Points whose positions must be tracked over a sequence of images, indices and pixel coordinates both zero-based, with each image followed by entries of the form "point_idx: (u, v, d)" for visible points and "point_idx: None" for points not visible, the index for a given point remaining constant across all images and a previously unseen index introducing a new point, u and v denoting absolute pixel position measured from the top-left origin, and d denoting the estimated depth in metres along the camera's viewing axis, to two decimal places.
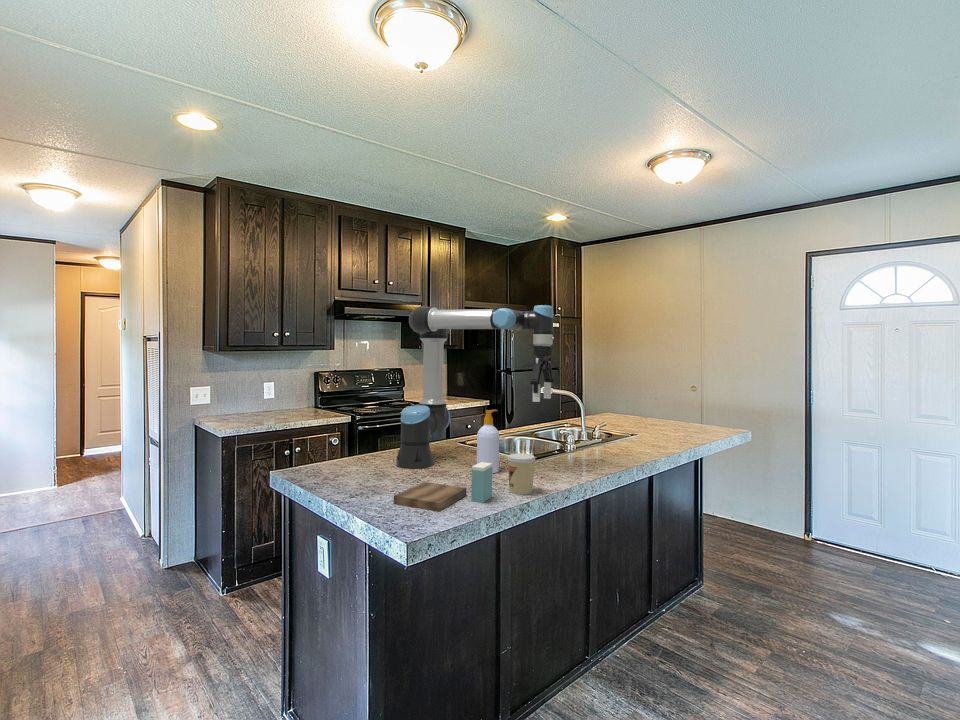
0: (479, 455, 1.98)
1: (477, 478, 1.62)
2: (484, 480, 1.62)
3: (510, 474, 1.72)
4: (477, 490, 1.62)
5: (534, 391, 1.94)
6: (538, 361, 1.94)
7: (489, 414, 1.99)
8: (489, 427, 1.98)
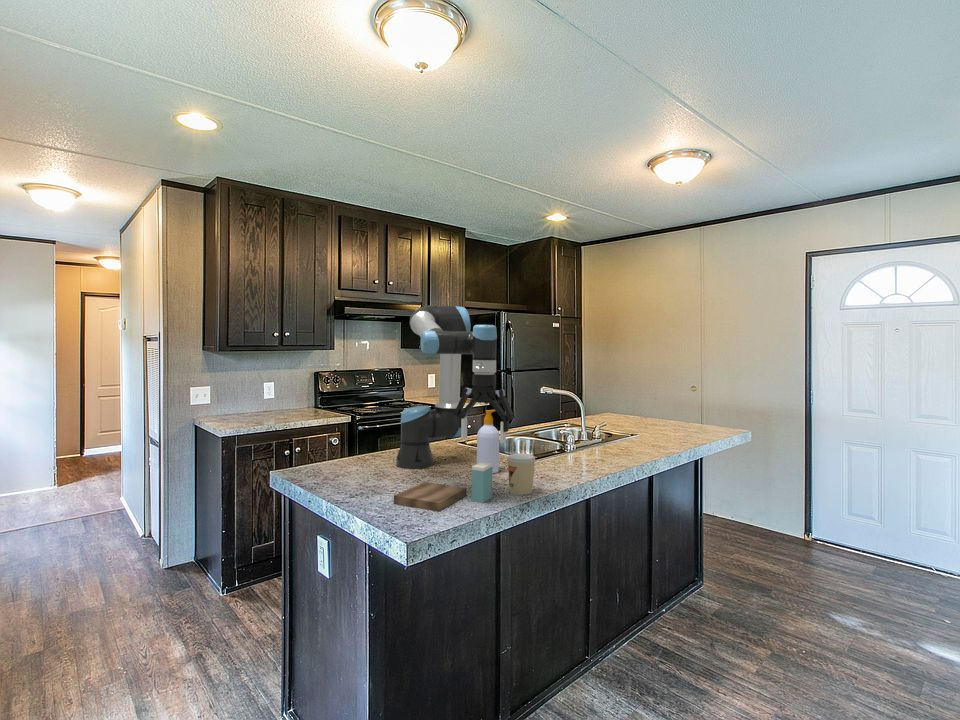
0: (479, 455, 1.98)
1: (477, 478, 1.62)
2: (484, 480, 1.62)
3: (510, 474, 1.72)
4: (477, 490, 1.62)
5: None
6: None
7: (489, 414, 1.99)
8: (489, 427, 1.98)
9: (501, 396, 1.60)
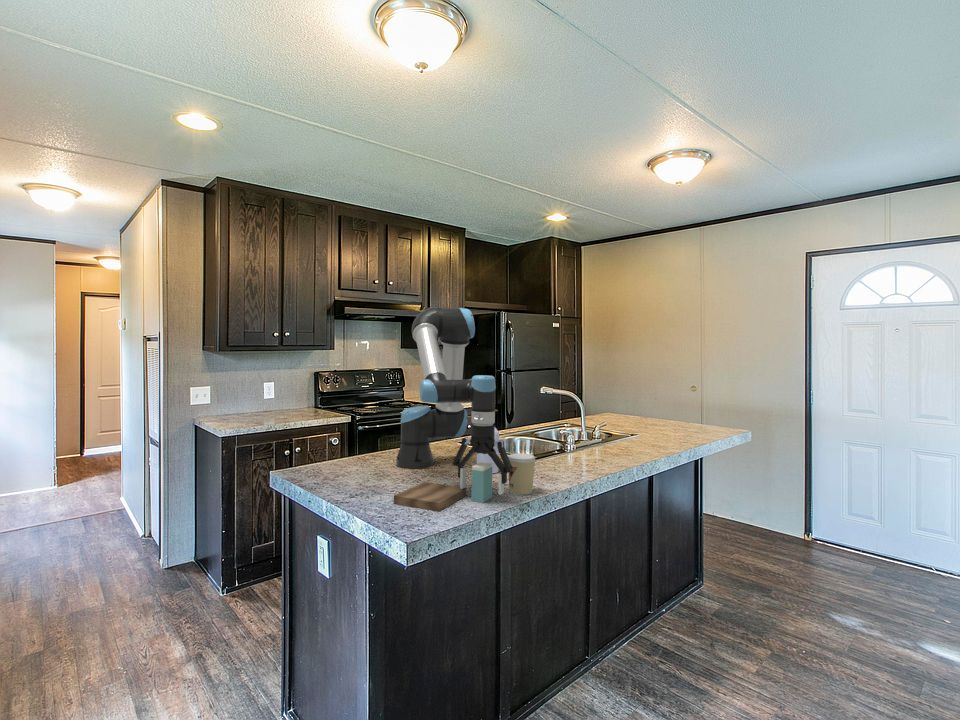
0: (479, 455, 1.98)
1: (477, 478, 1.62)
2: (484, 480, 1.62)
3: (510, 474, 1.72)
4: (477, 490, 1.62)
5: None
6: None
7: None
8: None
9: (499, 448, 1.61)
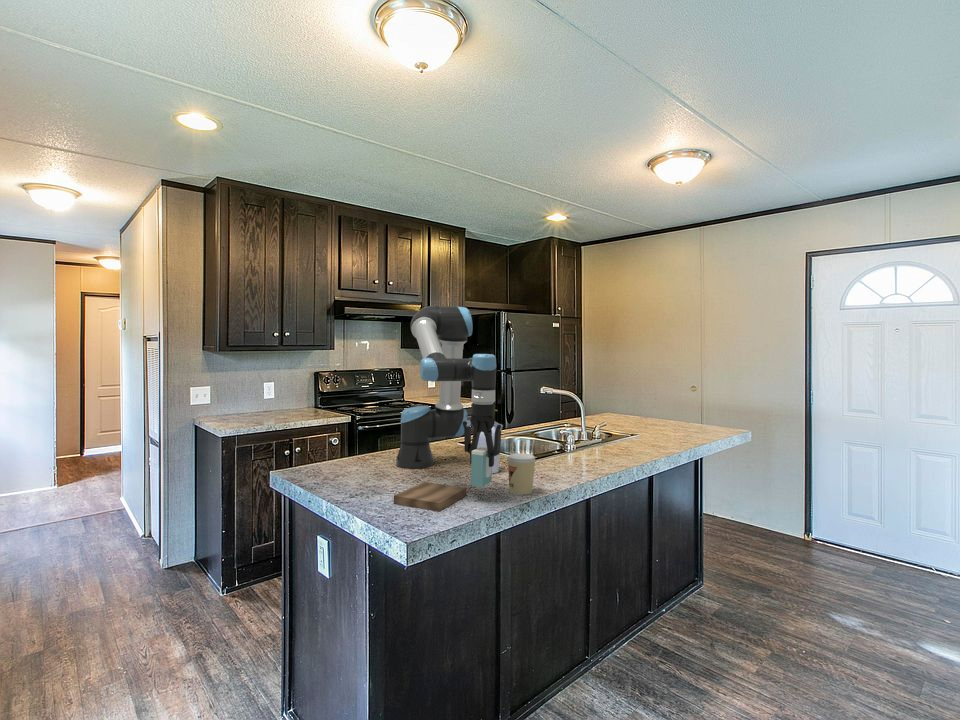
0: None
1: (477, 462, 1.62)
2: (484, 464, 1.62)
3: (510, 474, 1.72)
4: (477, 474, 1.62)
5: None
6: None
7: None
8: None
9: (497, 431, 1.61)
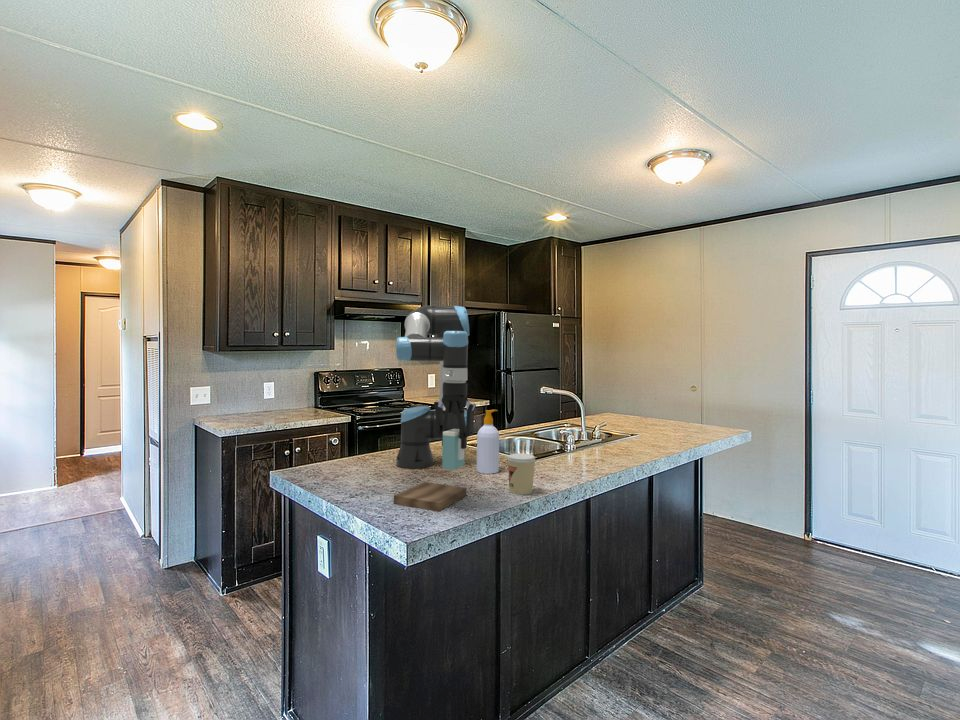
0: (479, 455, 1.98)
1: (448, 444, 1.54)
2: (455, 446, 1.54)
3: (510, 474, 1.72)
4: (448, 456, 1.54)
5: None
6: None
7: (489, 414, 1.99)
8: (489, 427, 1.98)
9: (469, 410, 1.54)
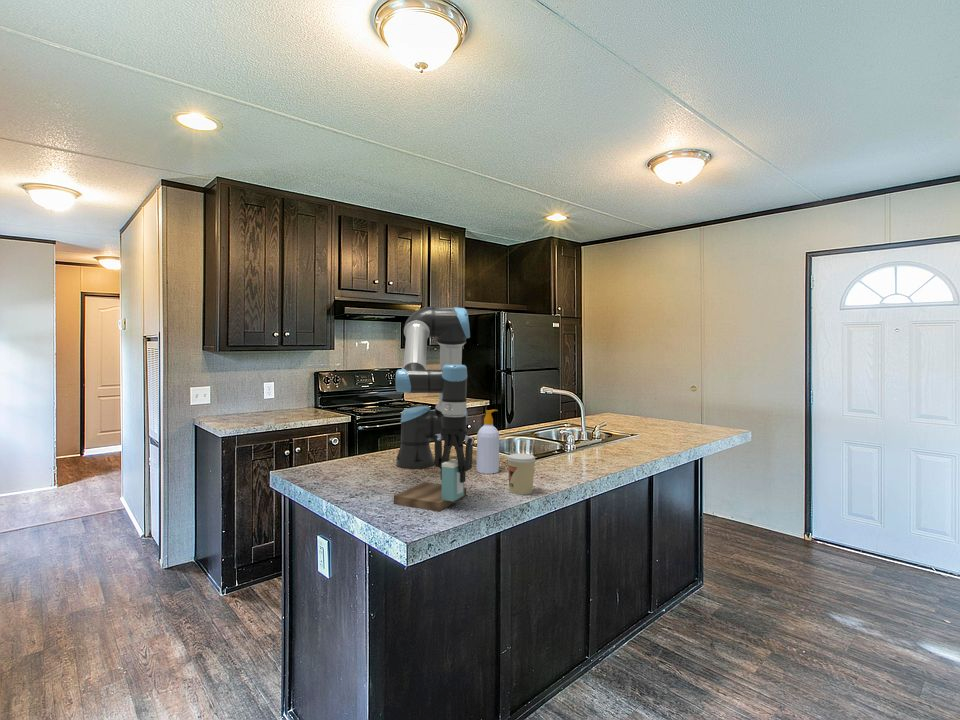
0: (479, 455, 1.98)
1: (447, 475, 1.54)
2: (454, 477, 1.54)
3: (510, 474, 1.72)
4: (447, 488, 1.54)
5: None
6: None
7: (489, 414, 1.99)
8: (489, 427, 1.98)
9: (468, 445, 1.54)
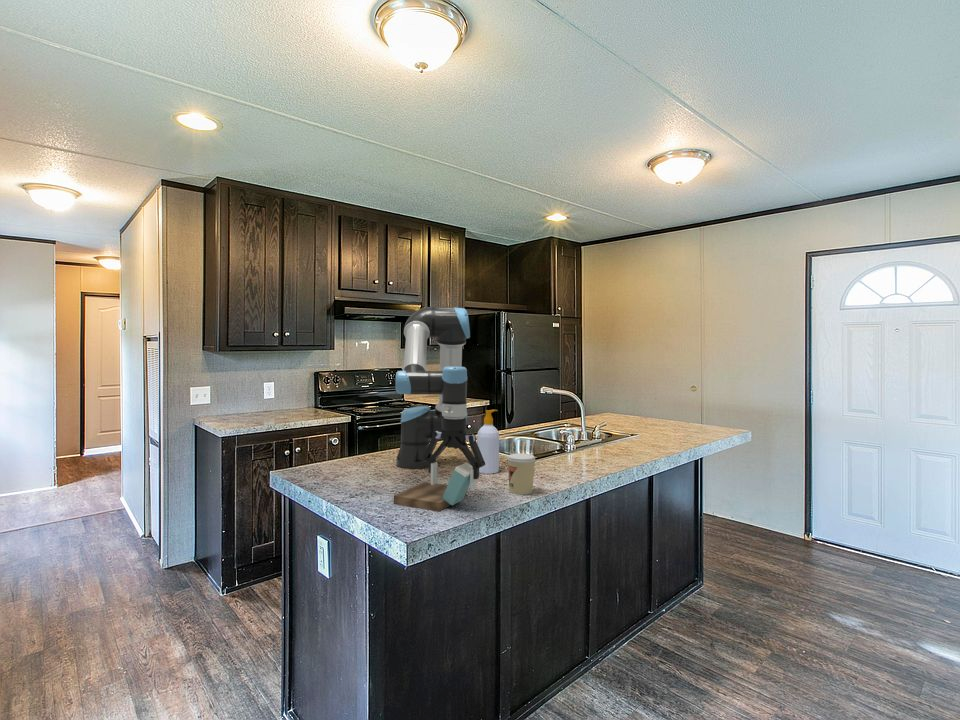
0: None
1: (456, 480, 1.53)
2: (462, 485, 1.53)
3: (510, 474, 1.72)
4: (451, 491, 1.54)
5: None
6: None
7: (489, 414, 1.99)
8: (489, 427, 1.98)
9: (471, 442, 1.54)
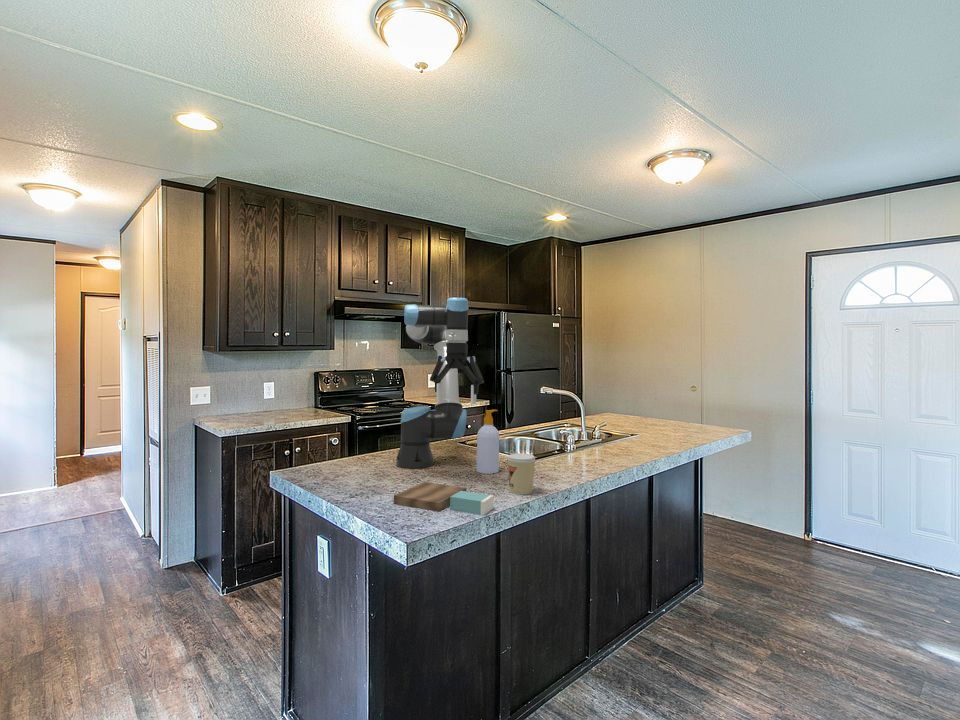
0: (479, 455, 1.98)
1: (472, 507, 1.51)
2: None
3: (510, 474, 1.72)
4: (461, 505, 1.53)
5: None
6: None
7: (489, 414, 1.99)
8: (489, 427, 1.98)
9: (471, 362, 1.77)
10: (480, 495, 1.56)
